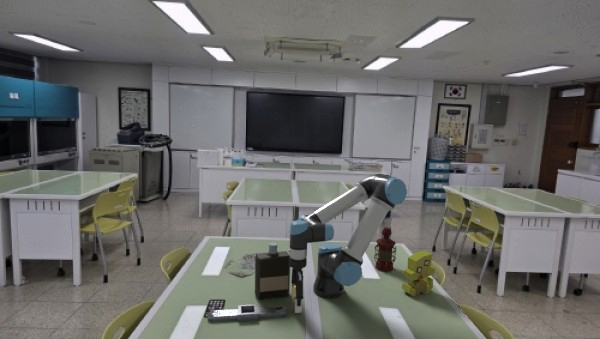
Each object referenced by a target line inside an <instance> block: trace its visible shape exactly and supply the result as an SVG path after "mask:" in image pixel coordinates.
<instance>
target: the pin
mask: <svg viewBox="0 0 600 339" xmlns="http://www.w3.org/2000/svg"><path fill="white" fill-rule="evenodd" d="M291 286H292V287H291V313H292V314H293V315H299V314H301V313H295V299H294V297H296V284H293V285H292V284H291Z"/></svg>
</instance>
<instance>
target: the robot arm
mask: <svg viewBox="0 0 600 339" xmlns="http://www.w3.org/2000/svg"><path fill="white" fill-rule="evenodd" d="M407 195H408V189H407V185H406V183H405V182H404V180H402V179H400V178H397V177H395V176H391V175H386V174H382V173H375V174H371V175H369V176H367V177H365V178H363V179H361V180H359V181H358V182H355V184H354V187H352V188H351V189H349V190H347V191H345V192H344V193H342V194H341V195H340V196H338V197H336V198H334V199H332V200H331V201H330V202H328V203H326V204H325V205H322V207H320V208H318V209H317V210H315V211H313V212H311V213H310V214H303V215H300V216H299V217H298V219H297V220H293V221H292V222H290V226H289V249H288V250H287V253H288V254H289V256H290V257H289V266H290V268H292V269H291V281H290V283H291V286H292V285H293V284H296V297H294V299H295V313H300V314H301V313H302V308H303V299H304V275H303V274H304V273H303V272H304V271H303V269H304V268H306V267H307V263H308V262H307V260H308V258H307V257H308V244H311V243H321V242H329V241H332V240H333V239H334V236H335V229H334V226H333V225H332V224H331V223H330V221H332V220H334V219H335V218H337V217H338V216H340V215H342V214H344V213H345V212H347V211H348V210H349V209H351V208H353V207H355V205H358V204H359V203H361V202H362V201H368V200H370V201H371V202H370V204H369V205H368V208H367V209H366V211H365V213H364V214H363V216H362V218H361V220H360V221H359V223H358V225H357V227H356V228H355V230H354V232H353V233H352V234H351V237H350V239H349V240H348V242H347V244H346V246H344V247H343V246H342V245H340V244H334V243H332V244H331V243H328V244H322V245H320V246H318V251H317V272H316V273H317V274H316V278H315V280H314V283H313V287H312V289H313V290H312V291H313V292H314V294H316V295H317V296H320V297H323V298H327V299H328V298H329V299H332V298H339V297H341V296H342V295H344V294H345V293H344V292H345V287H351V286H353V285H355V284H357V283H358V282H359V281H360V280H361V279H362V276H363V269H362V265H363V263H364V259H363V257H364V255H365V253H366V251H367V249H368V248H369V245H370V244H371V242H372V241H373V239H374V237H375V236H376V233H377V231H378V230H379V228H380V226H381V225H382V223H383V220H384V219H385V218H386V217H387V214H388V213H389V211H393V210H394V209H395V207H396V205H400V204H402V203H404V201H405V200H406V197H407ZM328 222H329V223H328Z"/></svg>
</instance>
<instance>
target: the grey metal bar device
mask: <svg viewBox="0 0 600 339" xmlns="http://www.w3.org/2000/svg"><path fill="white" fill-rule="evenodd" d="M286 316H287V308H286V307H284V306H268V307H258V305H257V303H253V304H252V303H251V304H250V303H249V304H238V305H237V308H236V309H235V308H233V309H223V310H213V311H210V312H209V313H208V318H207V320H208V321H210V322H220V321H221V322H222V321H223V322H224V321H238V322H239V323H240V322H253V321H255V322H256V321H258V320H259V319H271V318H272V319H273V318H283V317H286Z"/></svg>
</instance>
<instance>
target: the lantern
mask: <svg viewBox="0 0 600 339" xmlns="http://www.w3.org/2000/svg"><path fill="white" fill-rule="evenodd" d="M387 219H390V221H389V224H391V223H392V217H391V216H390V217H389V216H388V217H385V218H384V219H383V221H382V223H383V225H385V222H384V221H385V220H387ZM380 232H381V238H378V239H376V241H375V242H376V245H375V246H374V257H373V258H374V261H375V265H374V268H375V269H376V270H377V271H378V272H379V271H380V272H384V273H390V272H393V271H394V269H395V268H394V263H395V261H396V260H397V257H396V253H397V247H396V244H397V243H396V241H395V240H393V239H391V237H392V235H393V232H392V227H391V226H389V227H388V226H383V229H381V231H380Z"/></svg>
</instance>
